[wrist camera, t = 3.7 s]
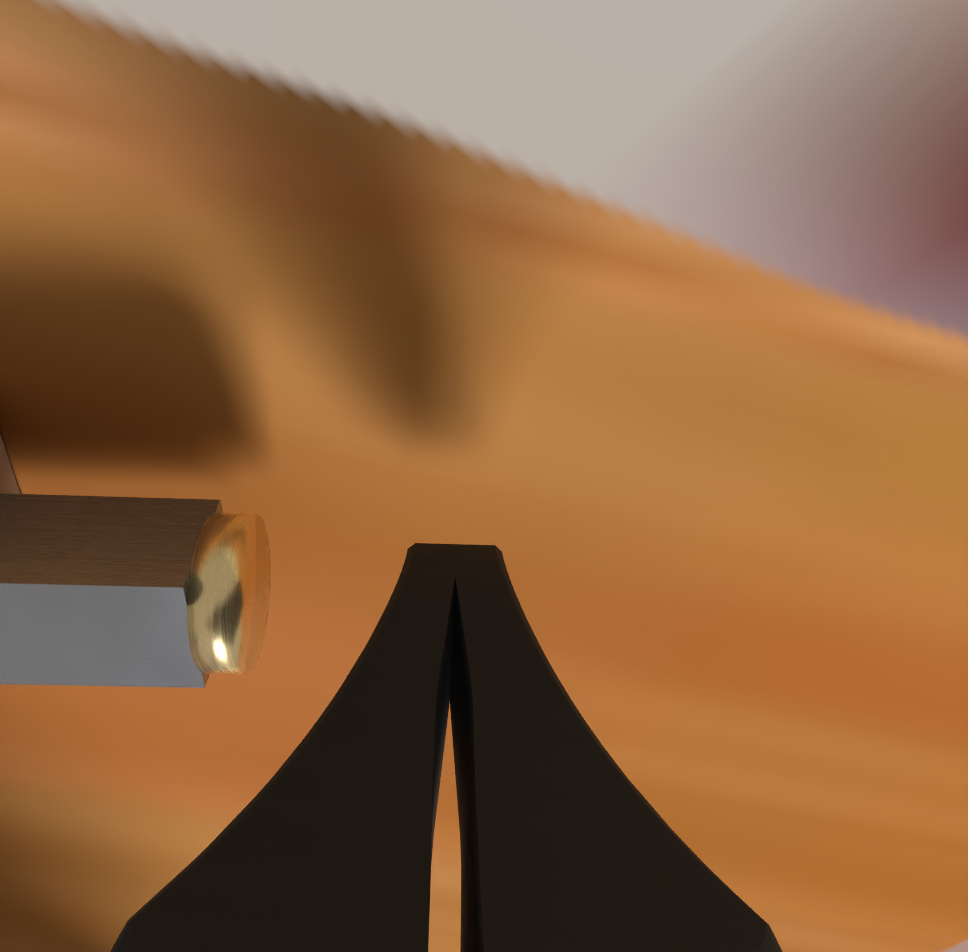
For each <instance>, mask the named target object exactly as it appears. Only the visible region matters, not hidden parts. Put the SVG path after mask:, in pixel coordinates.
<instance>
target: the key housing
mask: <svg viewBox="0 0 968 952" xmlns="http://www.w3.org/2000/svg"><path fill="white" fill-rule="evenodd" d="M0 494H21V493H20V490H19V487H18V485H17V482H16V479H15V476H14V473H13V470H12V467H11V464H10V461H9V458H8V455H7V452H6V449H5V447H4V444H3V441H2V438H1V435H0Z"/></svg>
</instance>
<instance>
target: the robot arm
mask: <svg viewBox="0 0 968 952" xmlns="http://www.w3.org/2000/svg"><path fill="white" fill-rule="evenodd" d="M449 702H450V710H451V723H452V736H453V749H454V762H455V775H456V788H457V800H458V813H459V826H460V842H461V952H782V950H781V948H780V946H779V944H778V942H777V940H776V938H775V936H774V934H773V932H772V930H771V928H770V926H769V925H768V924H767V923H766V922H765V921H764V920H763V919H762V918H761V917H760V916H759V915H758V914H756V913H755V912H754V911H753V910H752V909H751V908H750V907H749V906H748V905H747V904H746V903H745V902H743V901H742V900H741V899H740V898H739V897H738V896H737V895H736V894H735V893H734V892H733V891H732V890H731V889H730V888H729V887H728V886H727V885H726V884H725V883H724V882H722V881H721V880H720V879H719V878H718V877H717V876H716V875H715V874H714V873H713V872H712V871H711V870H710V869H709V868H708V867H707V866H706V865H705V864H704V863H703V862H702V861H701V860H700V859H699V858H698V857H697V855H696V854H695V853H694V852H693V851H692V850H691V849H690V848H689V847H688V846H687V845H686V844H685V843H684V842H683V841H682V840H681V839H680V838H679V837H678V836H677V835H676V834H675V833H674V831H673V830H672V829H671V828H670V827H669V826H668V825H667V823H666V822H665V821H664V820H663V819H662V818H661V817H660V815H659V814H658V813H657V812H656V811H655V810H654V808H653V807H652V806H651V805H650V804H649V803H648V801H647V800H646V799H645V798H644V797H643V796H642V794H641V793H640V792H639V791H638V790H637V789H636V788H635V786H634V785H633V784H632V783H631V782H630V781H629V779H628V778H627V777H626V776H625V774H624V773H623V772H622V771H621V769H620V768H619V767H618V765H617V764H616V763H615V761H614V760H613V759H612V757H611V756H610V755H609V754H608V752H607V751H606V750H605V748H604V747H603V746H602V744H601V743H600V741H599V740H598V739H597V737H596V736H595V734H594V733H593V731H592V730H591V729H590V727H589V726H588V724H587V723H586V722H585V720H584V719H583V717H582V716H581V714H580V713H579V711H578V710H577V708H576V706H575V705H574V703H573V702H572V700H571V699H570V697H569V695H568V694H567V692H566V690H565V689H564V687H563V685H562V684H561V682H560V680H559V679H558V677H557V675H556V674H555V672H554V670H553V669H552V667H551V665H550V663H549V661H548V660H547V658H546V656H545V654H544V652H543V650H542V648H541V646H540V645H539V643H538V641H537V639H536V637H535V635H534V633H533V631H532V629H531V627H530V625H529V623H528V621H527V619H526V616H525V614H524V612H523V610H522V608H521V605H520V603H519V601H518V598H517V596H516V594H515V591H514V589H513V586H512V584H511V581H510V578H509V575H508V572H507V569H506V566H505V563H504V559H503V555H502V552H501V551H500V550H499V549H498V548H497V547H496V546H495V545H461V544H426V543H415V544H414V545H412V546H411V547H410V548H408V551H407V555H406V559H405V562H404V565H403V568H402V571H401V574H400V577H399V579H398V582H397V584H396V587H395V589H394V591H393V593H392V596H391V598H390V600H389V602H388V604H387V607H386V608H385V610H384V612H383V614H382V616H381V618H380V620H379V622H378V624H377V626H376V628H375V630H374V632H373V634H372V636H371V637H370V639H369V641H368V643H367V645H366V646H365V648H364V650H363V651H362V653H361V655H360V656H359V658H358V660H357V661H356V663H355V665H354V666H353V668H352V669H351V671H350V673H349V674H348V676H347V678H346V679H345V681H344V683H343V684H342V686H341V687H340V689H339V690H338V692H337V693H336V695H335V696H334V698H333V699H332V701H331V702H330V704H329V705H328V706H327V708H326V709H325V711H324V712H323V714H322V715H321V716H320V718H319V719H318V720H317V722H316V723H315V724H314V726H313V727H312V729H311V730H310V731H309V733H308V734H307V735H306V737H305V738H304V739H303V740H302V742H301V743H300V744H299V745H298V747H297V748H296V749H295V750H294V752H293V753H292V754H291V755H290V757H289V758H288V759H287V760H286V761H285V763H284V764H283V765H282V766H281V768H280V769H279V770H278V771H277V773H276V774H275V775H274V776H273V777H272V778H271V780H270V781H269V782H268V783H267V784H266V785H265V787H264V788H263V789H262V790H261V791H260V792H259V793H258V794H257V796H256V797H255V798H254V799H253V800H252V801H251V802H250V803H249V804H248V805H247V806H246V807H245V808H244V809H243V810H242V811H241V812H240V813H239V815H238V816H237V817H236V818H235V819H234V820H233V821H232V822H231V823H230V824H229V825H228V826H227V827H226V828H225V829H224V830H223V831H222V832H221V833H220V834H219V835H218V837H217V838H216V839H215V840H214V841H213V842H212V843H211V844H210V845H209V846H208V847H207V848H206V849H205V850H204V851H203V852H202V853H201V854H200V855H199V856H198V857H197V858H196V859H195V860H194V861H192V862H191V863H190V864H189V865H188V866H187V867H186V868H185V869H184V870H183V871H182V872H180V873H179V874H178V875H177V876H176V877H175V878H174V879H173V880H172V881H171V882H169V883H168V884H167V885H166V886H165V887H164V888H163V889H162V890H161V891H160V892H159V893H157V894H156V895H155V896H154V897H153V898H152V899H151V900H150V901H149V902H148V903H147V904H145V905H144V906H143V907H142V908H141V909H140V910H139V911H138V912H137V913H135V914H134V915H133V916H132V917H131V918H130V919H129V920H128V922H127V923H126V925H125V927H124V928H123V930H122V932H121V933H120V935H119V937H118V939H117V941H116V943H115V944H114V946H113V948H112V950H111V952H428V939H429V910H430V881H431V860H432V848H433V835H434V827H435V819H436V810H437V802H438V794H439V786H440V777H441V769H442V761H443V752H444V744H445V736H446V727H447V719H448V711H449Z"/></svg>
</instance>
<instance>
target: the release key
mask: <svg viewBox="0 0 968 952" xmlns="http://www.w3.org/2000/svg"><path fill="white" fill-rule="evenodd" d="M269 596H270V551H269V542H268V535H267V531H266V527H265V524H264V522H263V519H262V518H261V516H259V515H258V514H241V513H223V512H222V506H221V500H208V499H173V498H138V497H103V496H69V495H34V494H0V684H28V685H83V686H138V687H194V688H205V686H206V683H207V680H208V677H209V674H210V673H238V674H247V673H249V672H250V671H251V670H252V669H253V667H254V665H255V663H256V661H257V659H258V656H259V653H260V650H261V647H262V643H263V638H264V634H265V628H266V623H267V616H268V607H269Z"/></svg>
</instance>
